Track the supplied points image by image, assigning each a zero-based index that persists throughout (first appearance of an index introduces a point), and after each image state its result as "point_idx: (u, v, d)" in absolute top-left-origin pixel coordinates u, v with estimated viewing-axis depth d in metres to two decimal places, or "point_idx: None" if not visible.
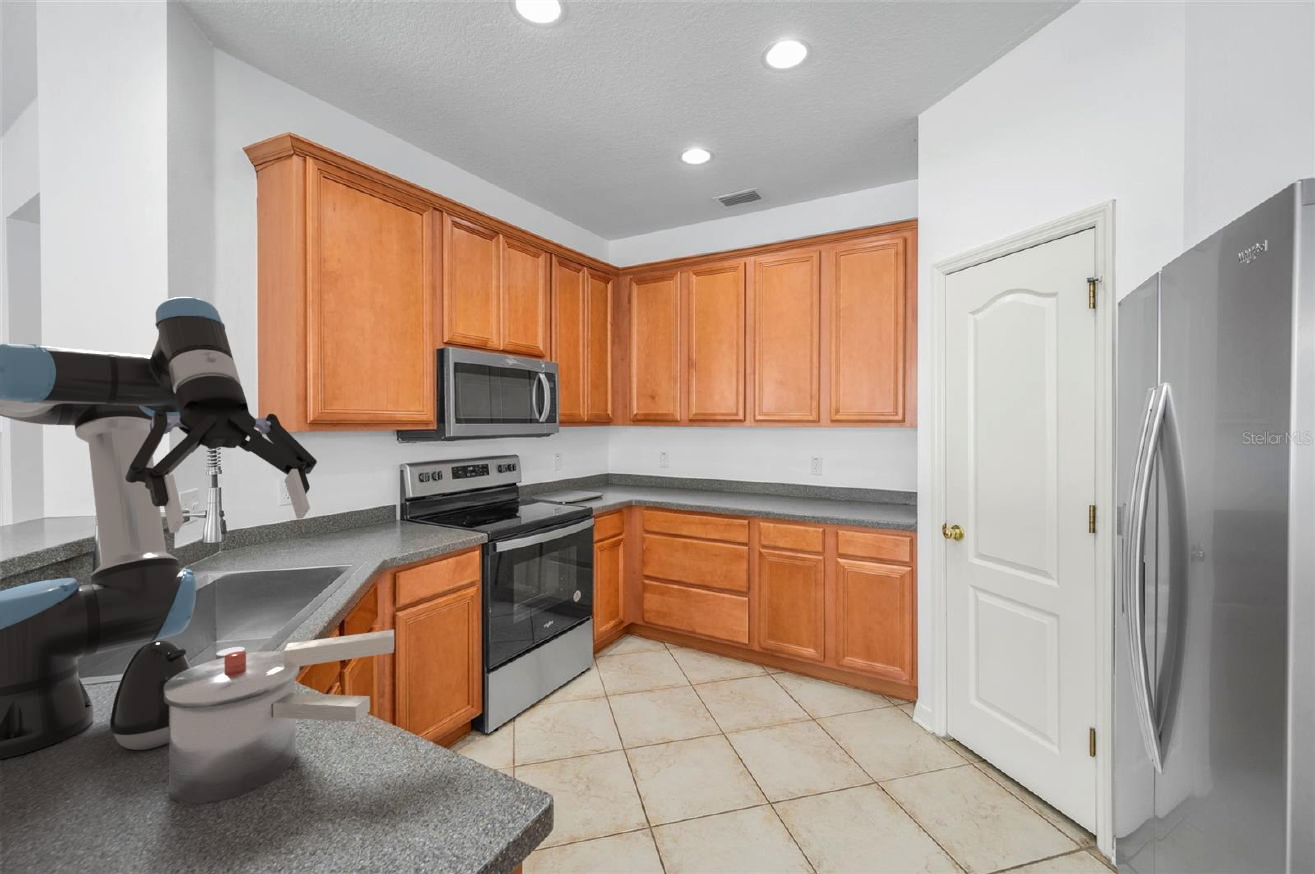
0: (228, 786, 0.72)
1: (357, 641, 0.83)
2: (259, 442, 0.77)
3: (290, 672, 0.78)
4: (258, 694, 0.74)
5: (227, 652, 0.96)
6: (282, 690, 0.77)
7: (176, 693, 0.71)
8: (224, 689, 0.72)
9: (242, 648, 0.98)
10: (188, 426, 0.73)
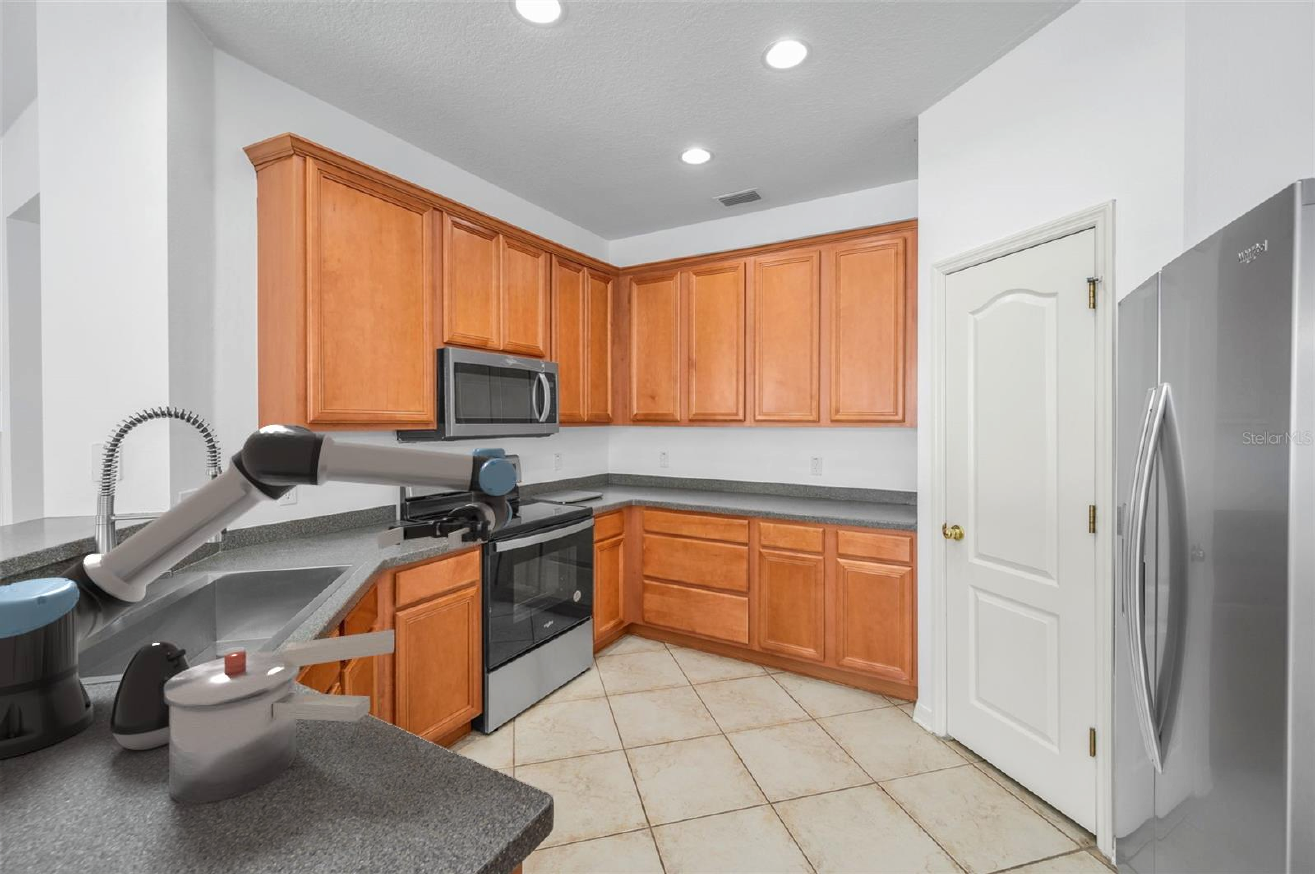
0: (228, 786, 0.72)
1: (357, 641, 0.83)
2: (430, 536, 1.09)
3: (290, 672, 0.78)
4: (258, 694, 0.74)
5: (227, 652, 0.96)
6: (282, 690, 0.77)
7: (176, 693, 0.71)
8: (224, 689, 0.72)
9: (242, 648, 0.98)
10: None
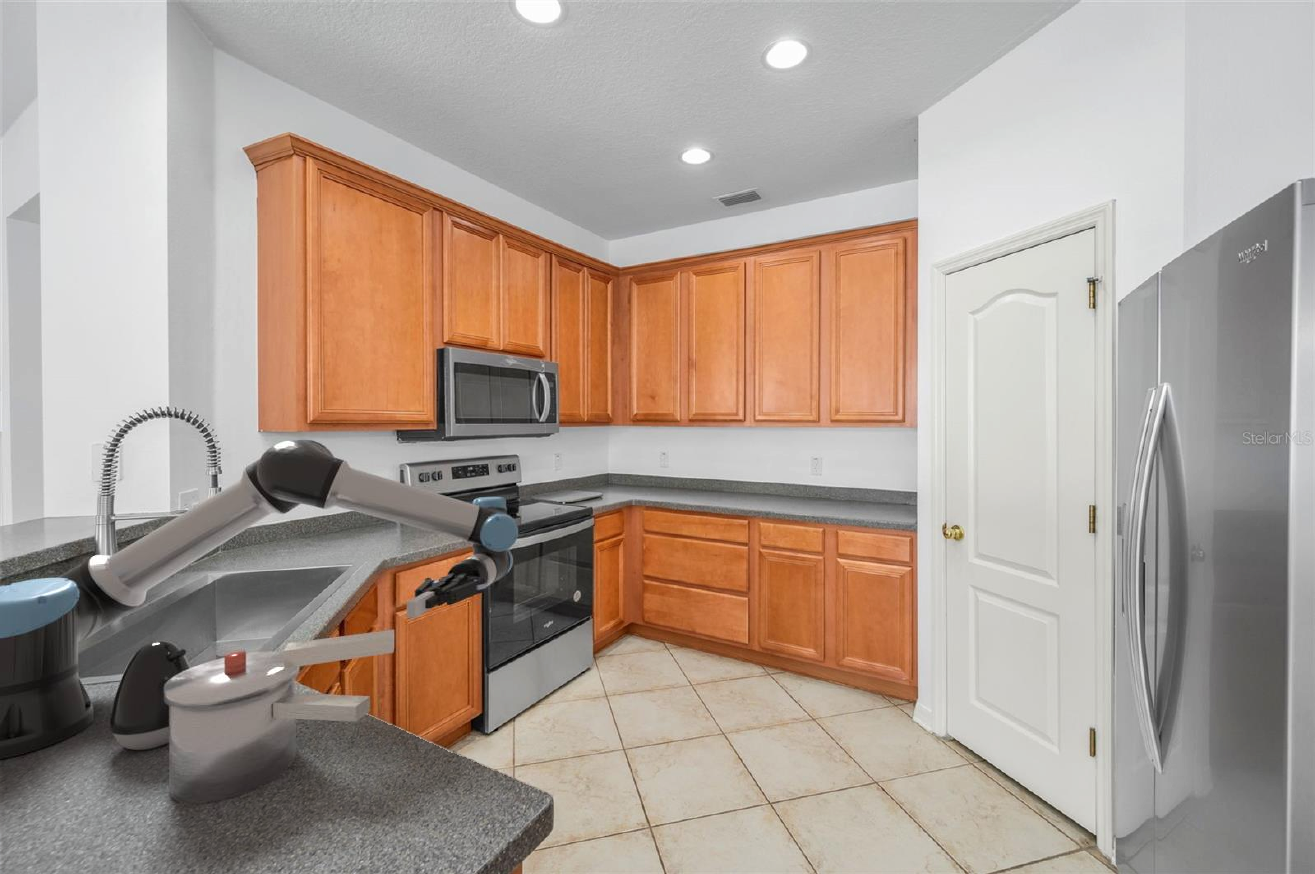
0: (228, 786, 0.72)
1: (357, 641, 0.83)
2: None
3: (290, 672, 0.78)
4: (258, 694, 0.74)
5: (227, 652, 0.96)
6: (282, 690, 0.77)
7: (176, 693, 0.71)
8: (224, 689, 0.72)
9: (242, 648, 0.98)
10: None
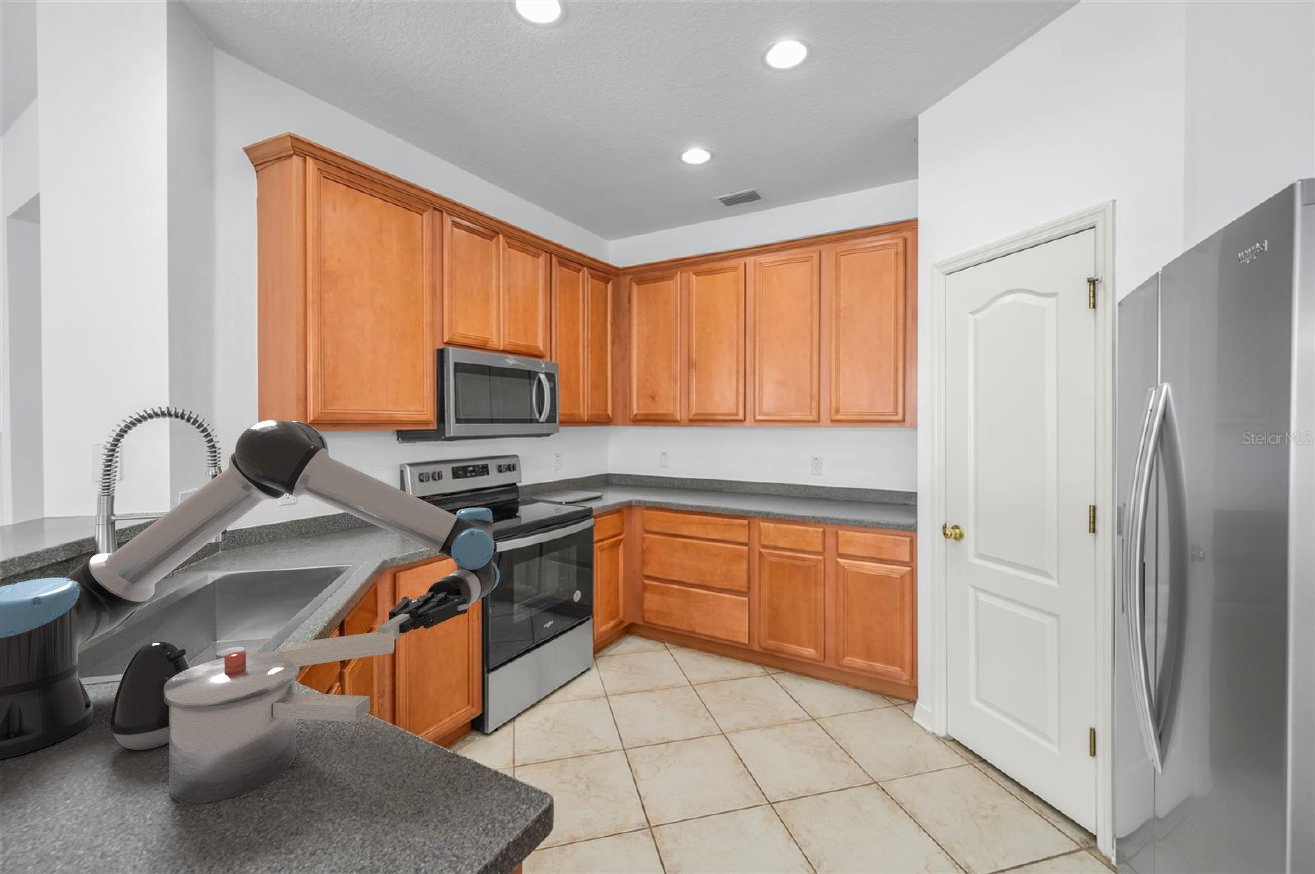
0: (228, 786, 0.72)
1: (357, 641, 0.83)
2: None
3: (290, 672, 0.78)
4: (258, 694, 0.74)
5: (227, 652, 0.96)
6: (282, 690, 0.77)
7: (176, 693, 0.71)
8: (224, 689, 0.72)
9: (242, 648, 0.98)
10: None
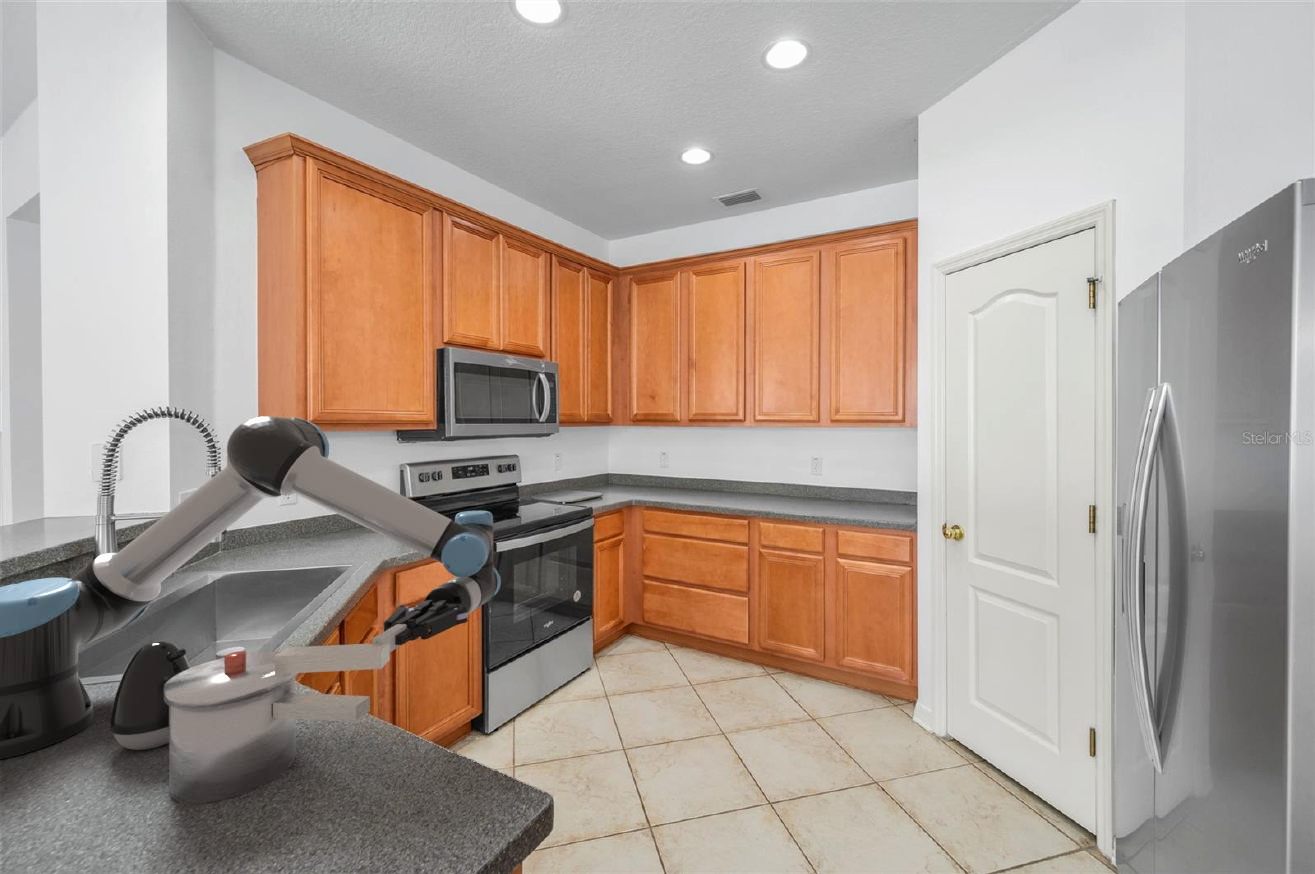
0: (228, 786, 0.72)
1: (345, 653, 0.78)
2: None
3: (277, 679, 0.76)
4: (237, 700, 0.72)
5: (227, 652, 0.96)
6: (282, 690, 0.77)
7: (168, 690, 0.72)
8: (206, 691, 0.72)
9: (242, 648, 0.98)
10: None
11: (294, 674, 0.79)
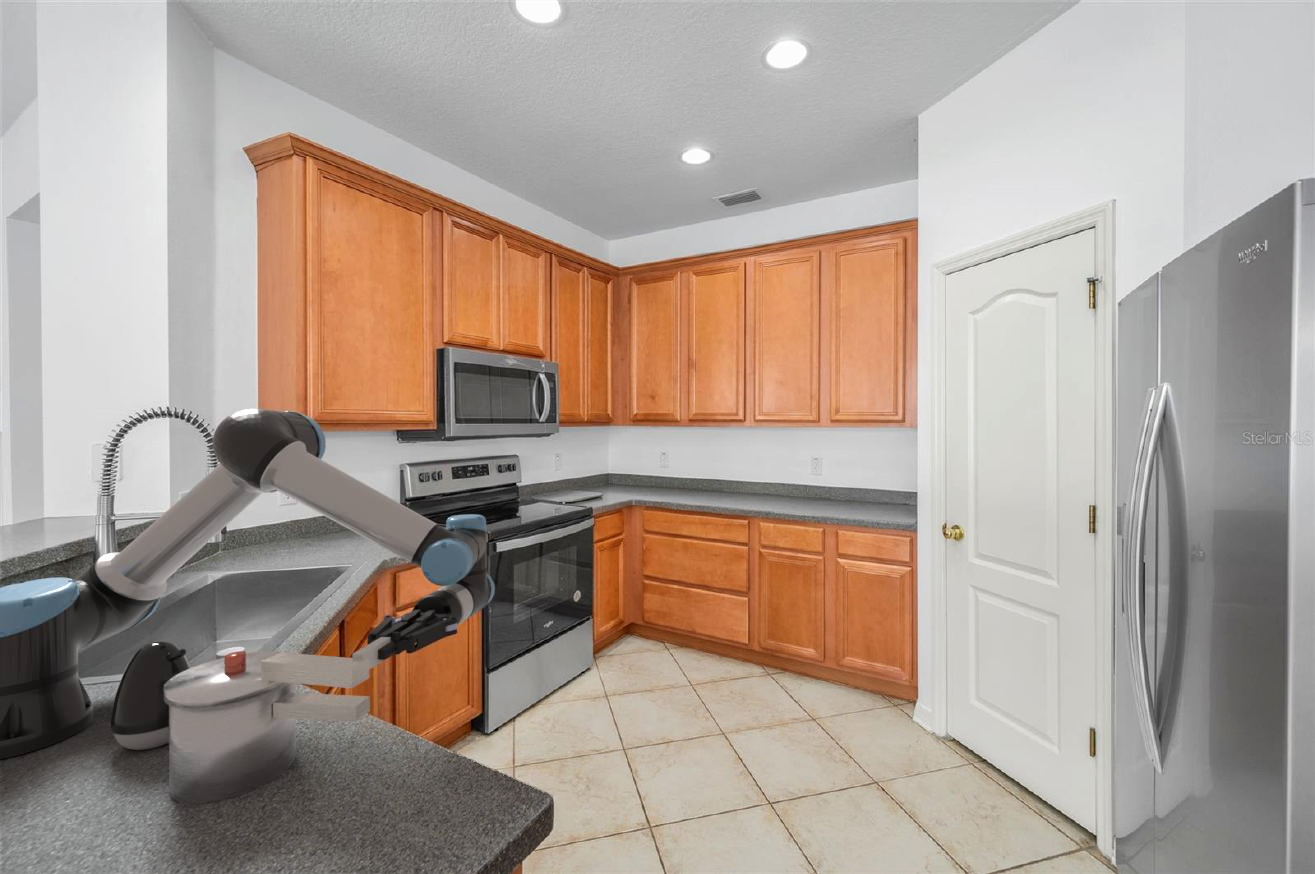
0: (228, 786, 0.72)
1: (320, 666, 0.73)
2: None
3: (259, 686, 0.74)
4: (214, 704, 0.71)
5: (227, 652, 0.96)
6: (282, 690, 0.77)
7: (167, 685, 0.74)
8: (191, 691, 0.72)
9: (242, 648, 0.98)
10: None
11: (284, 681, 0.77)
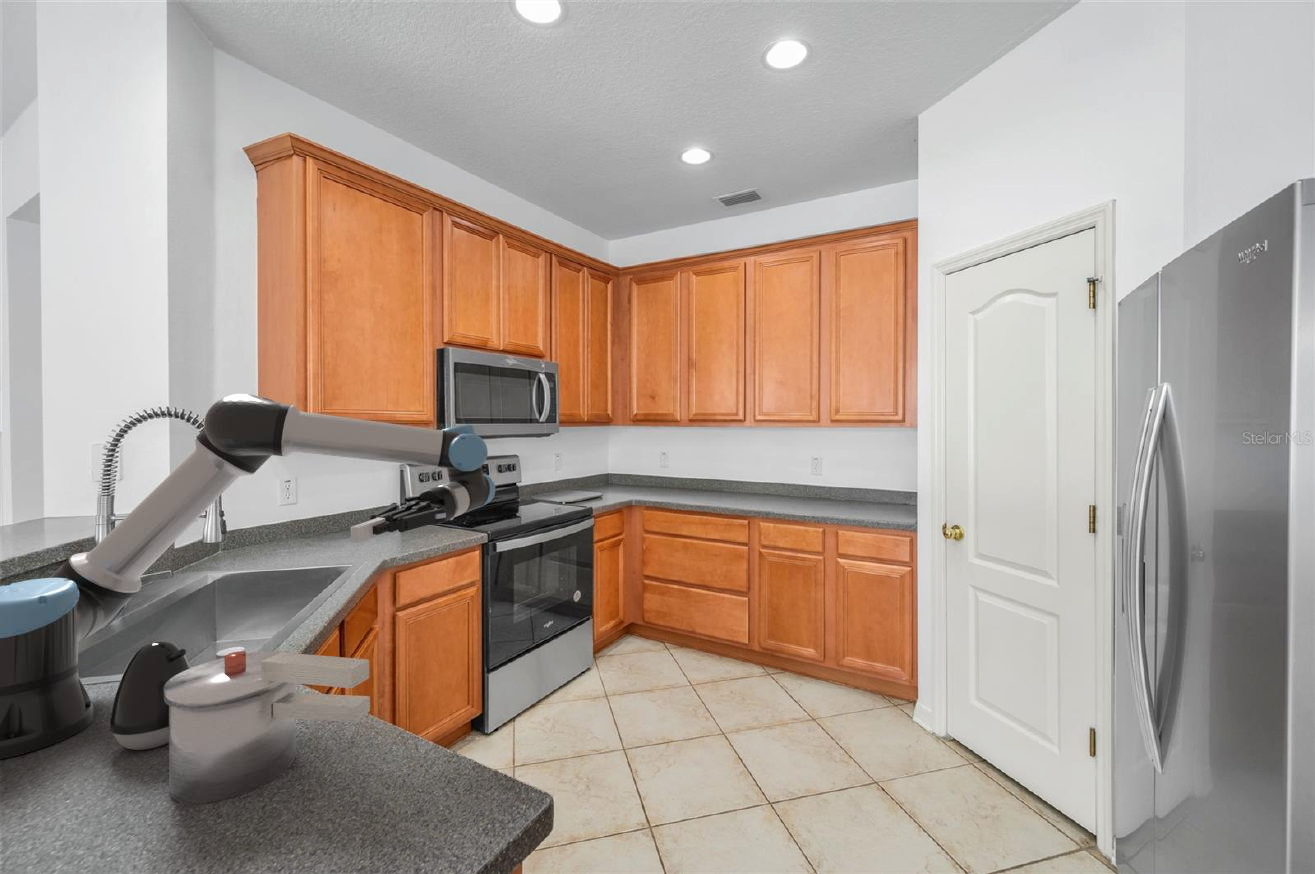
0: (228, 786, 0.72)
1: (320, 666, 0.73)
2: None
3: (259, 686, 0.74)
4: (214, 704, 0.71)
5: (227, 652, 0.96)
6: (282, 690, 0.77)
7: (167, 685, 0.74)
8: (191, 691, 0.72)
9: (242, 648, 0.98)
10: None
11: (284, 681, 0.77)
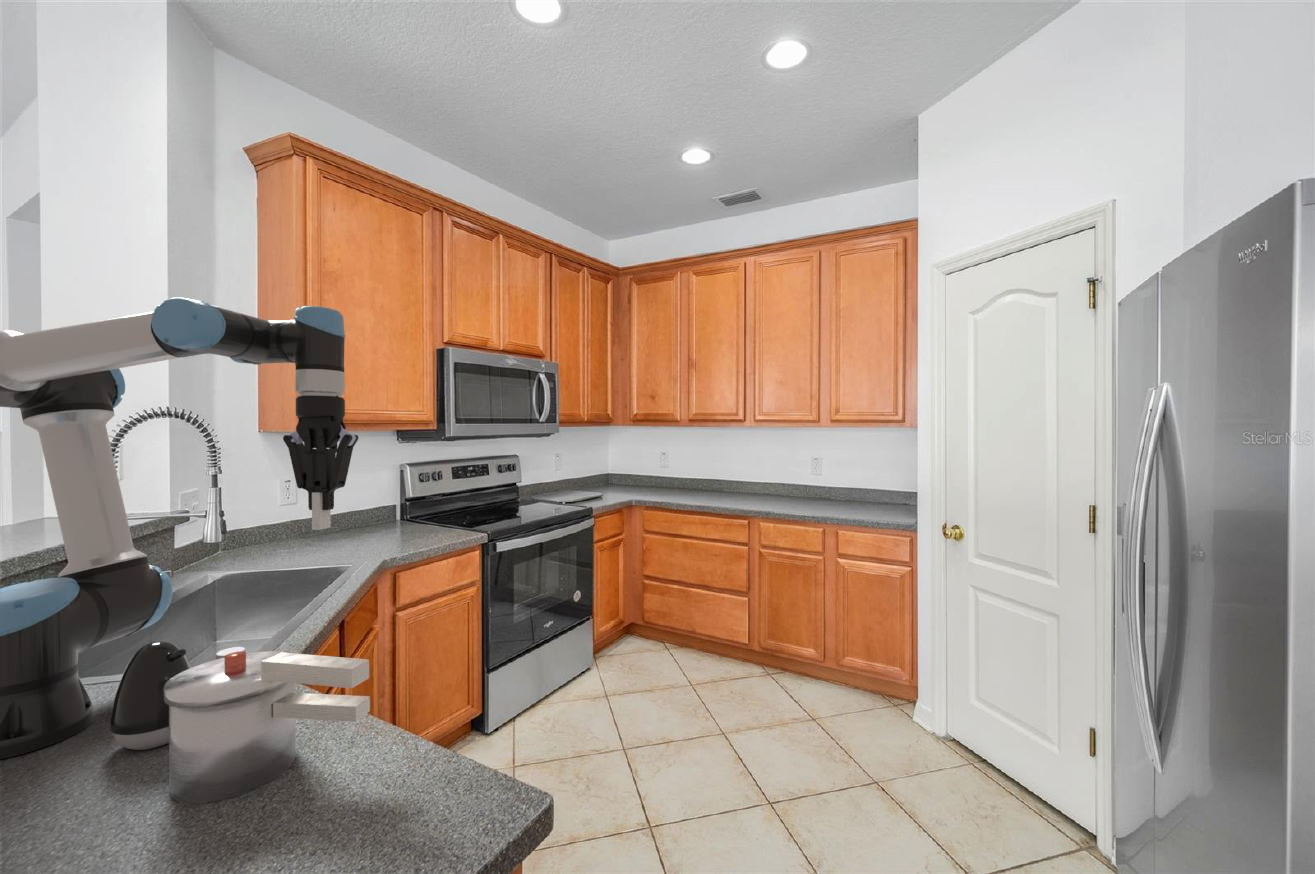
0: (228, 786, 0.72)
1: (320, 666, 0.73)
2: None
3: (259, 686, 0.74)
4: (214, 704, 0.71)
5: (227, 652, 0.96)
6: (282, 690, 0.77)
7: (167, 685, 0.74)
8: (191, 691, 0.72)
9: (242, 648, 0.98)
10: (337, 435, 1.00)
11: (284, 681, 0.77)
